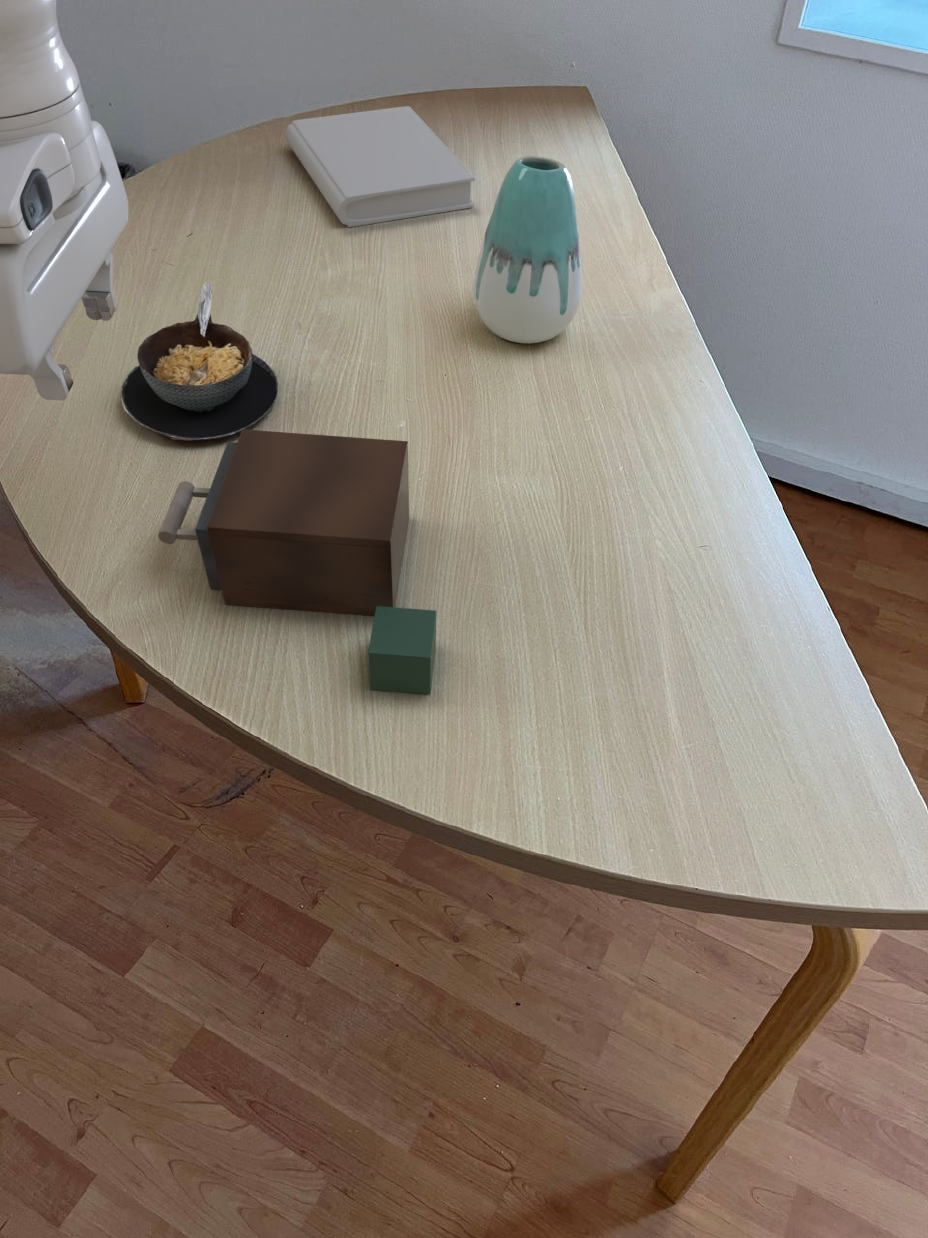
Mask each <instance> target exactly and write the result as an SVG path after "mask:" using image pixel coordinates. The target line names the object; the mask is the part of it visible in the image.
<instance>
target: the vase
mask: <svg viewBox="0 0 928 1238" xmlns="http://www.w3.org/2000/svg"><path fill="white" fill-rule="evenodd" d="M495 199H496V200H495V203H494V206H493V209H492V213H491V216H490V218H489V221H488V223H487V226H486V229H485V232H484V236H483V239H482V242H481V243H482V244H481V247H480V251H479V254H478V256H477V261H476V265H475V269H474V274H473V275H474V276H473V283H472V284H473V285H472V289H473V300H474V305H475V308H476V311H477V314H478V315H479V317H480V319H481V321H482V322H483V324H484V325H485V326H486V328H488V330H489V331H491V332H492V333H493V334H495V335H496V336H497V337H499V338H501V339H503V340H506V341H509V342H512V343H517V344H539V343H542V342H545V341H549V340H551V339H553V338H556V337H557V336H558V335H560V334H561V333H562V332H563V331H564V330H566V329H567V328H568V326H569V325H570V324H571V323H572V321H574V320H573V319H574V318H575V317H576V315H577V312H578V310H579V307H580V304H581V300H582V297H583V296H582V295H583V287H584V286H583V282H584V281H583V280H584V276H583V274H584V273H583V272H584V271H583V259H582V252H581V248H580V236H579V235H580V234H579V229H578V222H577V208H576V197H575V189H574V183H573V180H572V177H571V174H570V172H569V170H568V168H567V167H566V166H565V164H564V163H562V162H561V161H558V160H556V159H552V158H550V157H549V158H548V157H544V156H536V155H526V156H522V157H519V158H518V159H516V160H515V161H514V163H513V164H512V165H511V166H510V168H509V169H508V171H507V172H506V175H505V176H504V178H503V180H502V183H501V185H500V188H499V190H498V193H497V197H496V198H495Z"/></svg>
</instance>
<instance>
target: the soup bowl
mask: <svg viewBox="0 0 928 1238" xmlns="http://www.w3.org/2000/svg"><path fill="white" fill-rule="evenodd" d="M212 296H213V289H212V285H211V284H210V281H208V282H205V283H203V284H202V286H201V289H200V295H199V303H198V307H197V314H196V316H195V318H194V320H190V321H184V322H176V323H174V324H171V325H169V326H165V327H162V328H161V329H159V330H157V331H156V332H154V333H153V334H150V335H149V336H146V338H145V339H144V340H143V341H142V343H141V344H140V345H139V346H138V349H137V362H138V365H136V366H134V368H132V369H131V371H129V372H128V374H127V375H126V376H127V377H126V378H125V379H124V381H123V383H122V385H121V389H120V401H121V405H122V408H123V410H124V412H125V413H126V414H128V415H129V416H130V417H131V418H132V419H133V420H134V421H135V422H136V423H138V424H140V426H142V427H144V428H147V429H149V430H151V431H152V432H155V433H157V434H159V435H161V436H163V437H166V438H168V439H170V440H178V441H203V440H204V441H205V440H206V441H212V440H219V439H224V438H227V437H231V436H234V435H237V434H241V431H242V429H245V430H250V429H251V427H253V426H254V425H255V424H256V423H257V422H258V421H259V420H261V419H262V418H263V417H264V416H265V415H267V414H268V412H269V411H270V410H271V408H272V406H273V404H274V403H275V400H276V399H277V397H278V391H279V389H278V387H279V386H278V384H279V383H278V378H277V375H276V373H275V371H274V370H273V369H272V367H271V366H270V365H269V364H268V363H267V362H266V361H264V359H262V358H260V357H259V356H257V355H256V354H254V353H253V348H252V347H251V344H250V342H249V340H247V338H246V337H245V336H244V335H242V334H241V333H239V332H238V331H236V330H235V329H233V328H232V327H230V326H228V325H226V324H222V323H221V324H220V323H215V322H213V320H212V313H211V312H212V302H213V300H212V298H213V297H212Z"/></svg>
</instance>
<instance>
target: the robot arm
mask: <svg viewBox="0 0 928 1238" xmlns="http://www.w3.org/2000/svg"><path fill="white" fill-rule="evenodd" d="M57 13H58V12H57V0H0V375H1V374H2V375H19V376H29V377H31V378H32V379H33V382H34V385H35V387H36V389H37V392H38V393H37V394H38V395H39V396H40V397H41V398H42V399H45V400H46V401H47V400H50V401H65V400H66V399H67V397H68V395H69V393H70V391H71V389H72V388H73V385H74V380H73V378H72V377H71V371H70V368H69V365H68V364H63V363H62V364H60V363H57V361H56V360H55V359H54V358H53V356H54V354H55V351H56V349H55V346H54V342H55V341H56V340H57V338H58V337H59V335H60V333H61V332H62V330H63V328H65V327H64V326H65V325H66V323H67V322H68V321H69V318H70V317H71V315H72V314H73V312H74V310H75V309H76V307H77V306H78V304H79V303H80V301H81V302H82V304H83V307H84V308H85V309H84V310H85V314H86V316H87V317H88V318H89V319H90V320H93V321H100V320H102V322H103V321H107V322H108V321H110V320H111V319H112V317H113V316H114V314H115V312H116V310H117V309H118V302H117V299H116V295H115V291H114V256H113V252H112V249H113V248H114V246H115V244H116V243H117V241H118V239H119V238H120V236H121V235H122V233H123V231H124V230H125V228H126V227H127V225H128V223H129V200H128V196H127V192H126V189H125V185H124V182H123V179H122V175H121V172H120V168H119V166H118V162H117V159H116V156H115V153H114V150H113V147H112V144H111V141H110V139H109V136H108V135H107V132H106V130H105V128H104V127H103V126H102V124H100V123H99V122H98V121H96V120H92V118H91V114H90V110H89V107H88V104H87V101H86V99H85V94H84V92H83V89H82V85H81V81H80V76H79V74H78V70H77V68H76V65H75V63H74V61H73V59H72V58H71V56H70V53H69V52H68V51H67V49H66V46H65V44H64V41H63V39H62V37H61V32H60V28H59V24H58V17H57Z"/></svg>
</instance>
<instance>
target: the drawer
mask: <svg viewBox="0 0 928 1238" xmlns="http://www.w3.org/2000/svg"><path fill="white" fill-rule="evenodd" d="M237 442H238V441H227V442H226V445H225V447H224V451H223V453H222V455H221V458H220V461H219V464H218V466H217V469H216V472H215V473H214V477H213V480H212V482H211V485H210V488H209V487H196V486H195V485H194V484H193V483H191V482H190V481H187V480H184V481H183V480H182V481H180V482H179V483H178V485H177V488H176V490H175V492H174V494H173V498H172V499H171V501H170V505H169V507H168V510H167V513H166V514H165V517H164V519H163V522H162V524H161V525H160V529H159V531H158V534H157V538H158V540H160V542H162V543H164V544H166V545H167V544H168V545H172V544H175V543H176V541H177V540H181V541H182V540H184V541H194V542H195V541H197V544H198V547H199V552H200V554H201V555H200V556H201V558H202V564H203V567H204V571H205V575H206V579H207V583H208V586H209V590H210V591H214V592H215V591H216V592H217V591H218V592H222V589H221V585H220V581H219V577H218V573H217V569H216V565H215V561H214V556H213V552H212V548H211V544H210V540H209V536H208V531H207V525H208V522H209V519H210V516H211V514H212V511H213V508H214V505H215V503H216V500H217V497H218V494H219V492H220V489H221V486H222V483H223V481H224V478H225V475H226V472H227V470H228V467H229V464H230V462H231V459H232V456H233V453H234V451H235V448H236V445H237ZM193 498H205V501H204V503H203V506H202V509H201V512H200V514H199V517H198V520H197V522H196V525H195V528H194V529H183V528H182V525H183V524H184V521H185V518H186V516H187V513H188V510H189V507H190V505H191V503H192V500H193Z"/></svg>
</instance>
